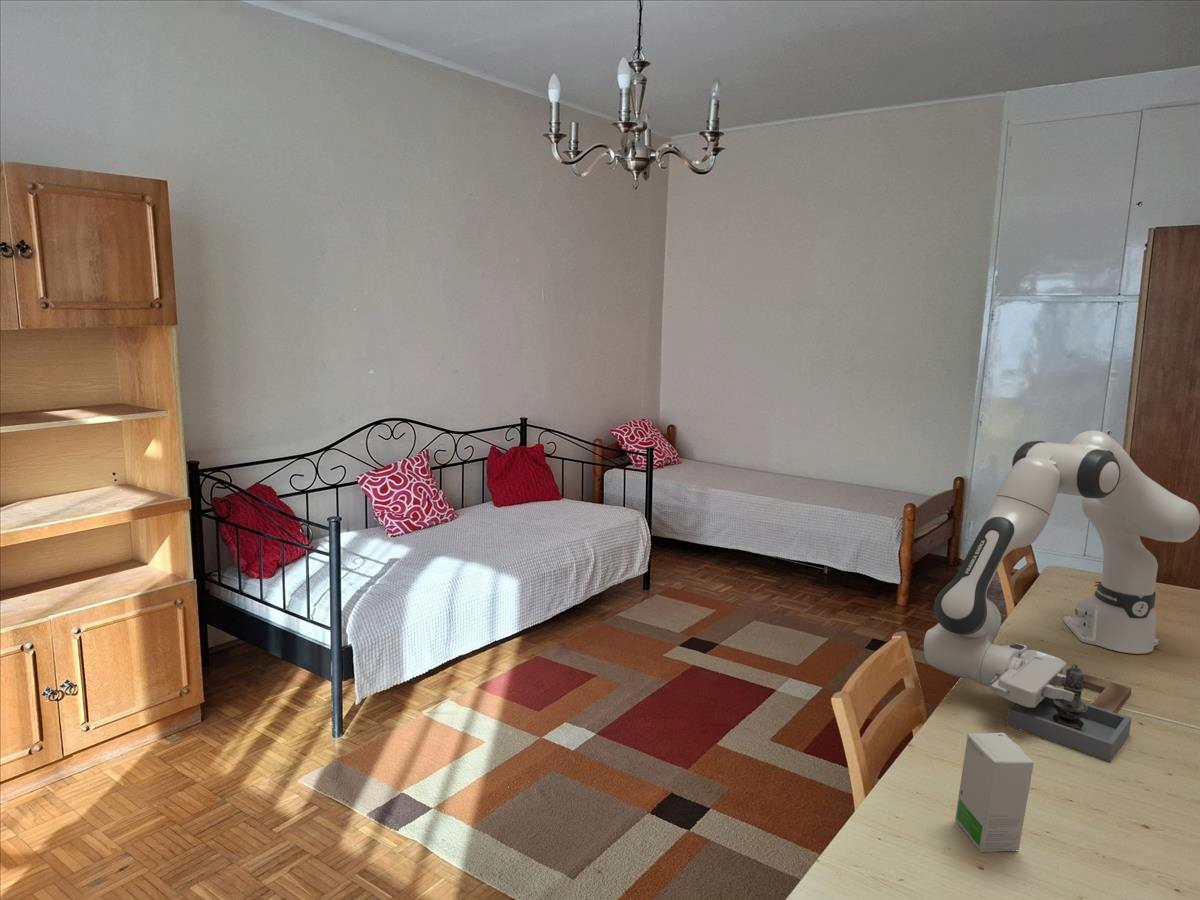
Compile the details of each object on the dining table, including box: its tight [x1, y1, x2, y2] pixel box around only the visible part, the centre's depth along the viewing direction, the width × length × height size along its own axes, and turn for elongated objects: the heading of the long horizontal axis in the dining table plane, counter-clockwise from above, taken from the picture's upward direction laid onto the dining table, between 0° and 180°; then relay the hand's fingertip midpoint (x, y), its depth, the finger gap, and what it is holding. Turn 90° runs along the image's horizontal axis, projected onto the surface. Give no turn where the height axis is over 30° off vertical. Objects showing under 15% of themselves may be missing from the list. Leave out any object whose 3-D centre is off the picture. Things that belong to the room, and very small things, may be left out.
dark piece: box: [1053, 664, 1088, 728], centre depth 161 cm, size 6×6×12 cm
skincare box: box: [954, 732, 1035, 853], centre depth 128 cm, size 8×7×16 cm
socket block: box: [1065, 668, 1132, 713], centre depth 178 cm, size 18×18×2 cm
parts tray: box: [1006, 697, 1133, 763], centre depth 162 cm, size 18×14×4 cm
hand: (1077, 692), depth 161 cm, fingers closed on dark piece, 3 cm apart
